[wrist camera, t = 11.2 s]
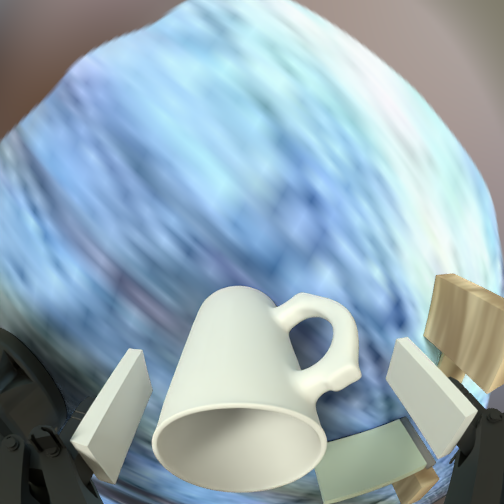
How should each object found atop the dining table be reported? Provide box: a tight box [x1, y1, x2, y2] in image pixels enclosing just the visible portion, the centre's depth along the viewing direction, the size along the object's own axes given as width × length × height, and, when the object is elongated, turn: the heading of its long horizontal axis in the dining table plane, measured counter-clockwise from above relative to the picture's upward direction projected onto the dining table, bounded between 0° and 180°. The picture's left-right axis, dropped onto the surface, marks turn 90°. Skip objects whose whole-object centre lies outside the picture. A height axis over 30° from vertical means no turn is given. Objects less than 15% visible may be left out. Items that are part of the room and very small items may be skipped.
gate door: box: [314, 417, 436, 504], centre depth 19 cm, size 12×1×8 cm, turn 99°
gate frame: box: [392, 274, 504, 504], centre depth 18 cm, size 10×25×10 cm, turn 1°
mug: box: [152, 286, 361, 492], centre depth 14 cm, size 10×7×12 cm, turn 127°
